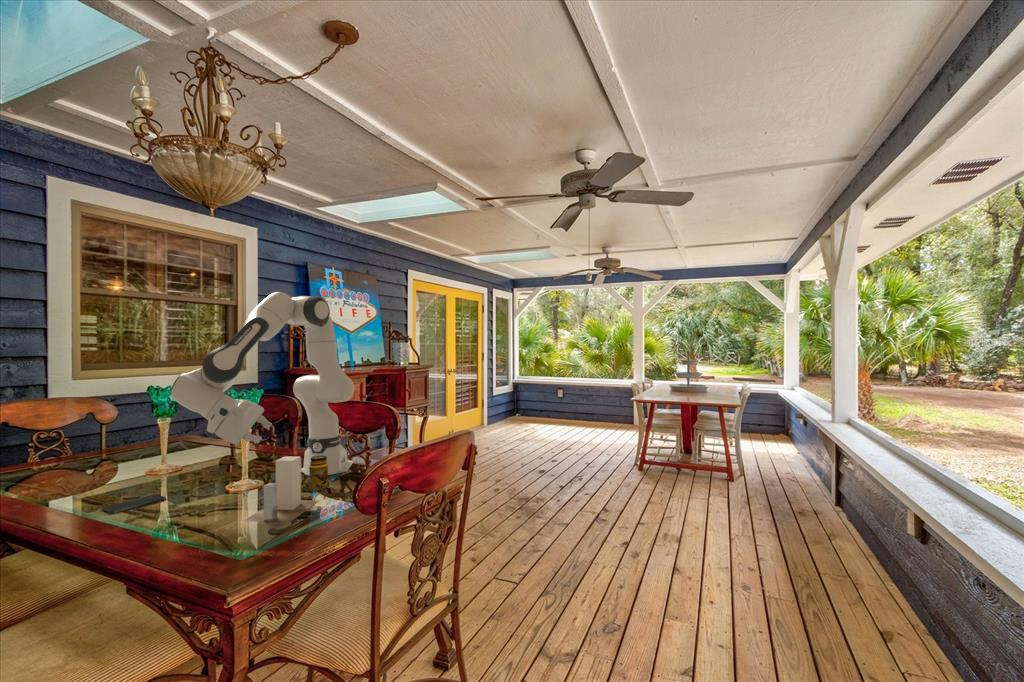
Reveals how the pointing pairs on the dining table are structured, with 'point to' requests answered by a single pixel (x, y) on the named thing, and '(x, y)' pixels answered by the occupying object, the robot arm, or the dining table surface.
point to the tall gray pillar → (288, 482)
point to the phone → (133, 503)
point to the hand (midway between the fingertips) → (265, 433)
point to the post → (270, 501)
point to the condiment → (318, 473)
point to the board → (284, 513)
